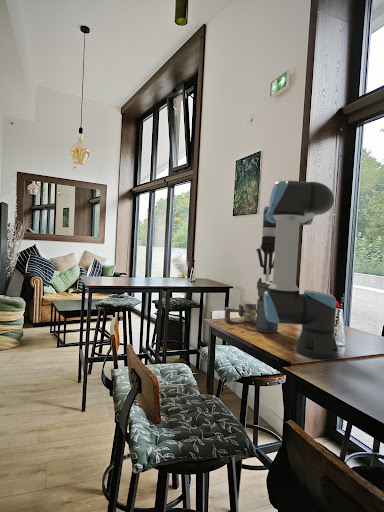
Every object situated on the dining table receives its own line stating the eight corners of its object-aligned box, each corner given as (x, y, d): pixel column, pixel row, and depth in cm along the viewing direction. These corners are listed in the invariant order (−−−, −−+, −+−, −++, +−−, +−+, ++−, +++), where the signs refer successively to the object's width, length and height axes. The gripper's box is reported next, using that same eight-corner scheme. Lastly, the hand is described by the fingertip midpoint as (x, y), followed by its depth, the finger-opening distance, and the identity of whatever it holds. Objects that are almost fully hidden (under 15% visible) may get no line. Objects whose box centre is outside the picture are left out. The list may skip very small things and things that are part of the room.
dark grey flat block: (240, 314, 183) (241, 304, 183) (242, 317, 177) (243, 306, 177) (238, 314, 183) (239, 304, 183) (240, 316, 177) (241, 306, 177)
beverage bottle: (285, 334, 158) (289, 280, 157) (257, 333, 157) (260, 279, 156) (278, 329, 168) (281, 278, 168) (251, 328, 167) (254, 277, 166)
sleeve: (251, 317, 185) (252, 301, 184) (255, 321, 176) (256, 304, 176) (242, 317, 184) (243, 301, 184) (245, 320, 176) (246, 303, 176)
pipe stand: (264, 321, 184) (265, 308, 184) (268, 324, 177) (269, 311, 177) (224, 319, 183) (224, 306, 183) (226, 322, 176) (226, 309, 176)
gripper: (279, 236, 183) (276, 280, 184) (255, 235, 183) (252, 279, 184) (283, 236, 176) (281, 282, 177) (258, 235, 175) (256, 281, 176)
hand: (266, 280), depth 180 cm, fingers closed
